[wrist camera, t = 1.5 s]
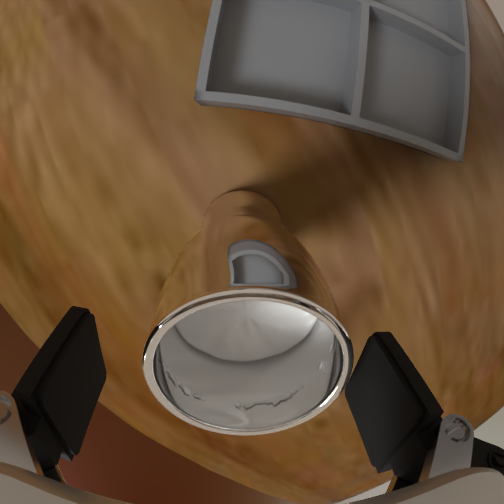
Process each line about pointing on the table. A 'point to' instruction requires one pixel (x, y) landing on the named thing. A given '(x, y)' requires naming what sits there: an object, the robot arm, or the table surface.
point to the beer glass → (246, 326)
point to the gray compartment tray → (345, 66)
